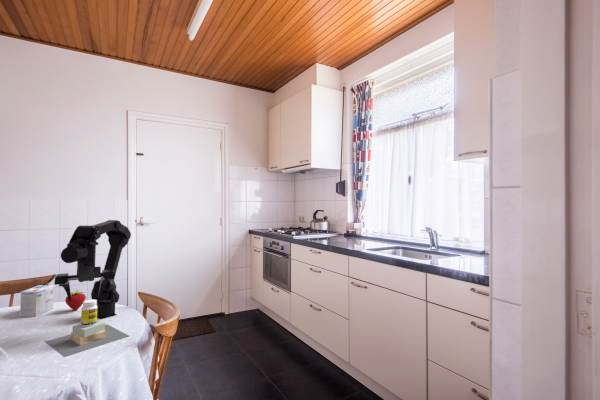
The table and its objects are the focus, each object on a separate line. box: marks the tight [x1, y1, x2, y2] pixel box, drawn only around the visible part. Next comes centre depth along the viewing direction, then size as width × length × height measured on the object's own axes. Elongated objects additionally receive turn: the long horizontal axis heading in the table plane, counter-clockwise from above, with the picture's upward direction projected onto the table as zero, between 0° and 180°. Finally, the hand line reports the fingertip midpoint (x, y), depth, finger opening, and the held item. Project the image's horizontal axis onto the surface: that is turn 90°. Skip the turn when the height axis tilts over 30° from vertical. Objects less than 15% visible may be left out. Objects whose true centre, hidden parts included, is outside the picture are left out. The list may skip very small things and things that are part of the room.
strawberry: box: [65, 289, 87, 312], centre depth 140 cm, size 6×8×10 cm
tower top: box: [71, 320, 106, 337], centre depth 111 cm, size 7×7×2 cm
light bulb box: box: [19, 284, 55, 317], centre depth 137 cm, size 11×7×11 cm, turn 5°
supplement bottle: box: [80, 298, 98, 327], centre depth 111 cm, size 5×5×8 cm
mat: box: [44, 323, 130, 358], centre depth 111 cm, size 20×18×1 cm
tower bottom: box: [70, 330, 106, 346], centre depth 111 cm, size 8×8×2 cm
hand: (85, 299), depth 119 cm, fingers open, 9 cm apart
